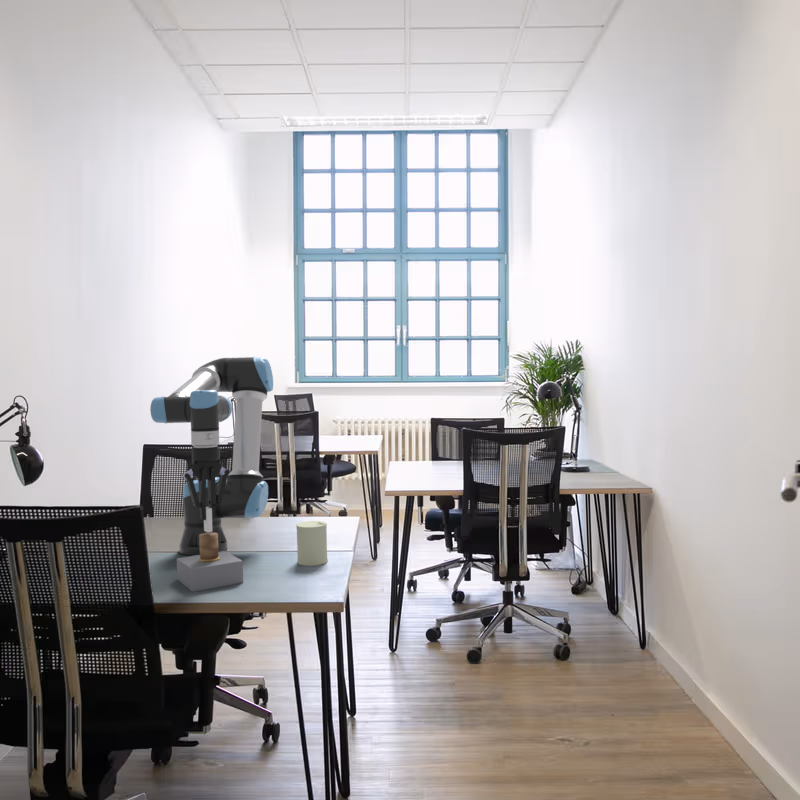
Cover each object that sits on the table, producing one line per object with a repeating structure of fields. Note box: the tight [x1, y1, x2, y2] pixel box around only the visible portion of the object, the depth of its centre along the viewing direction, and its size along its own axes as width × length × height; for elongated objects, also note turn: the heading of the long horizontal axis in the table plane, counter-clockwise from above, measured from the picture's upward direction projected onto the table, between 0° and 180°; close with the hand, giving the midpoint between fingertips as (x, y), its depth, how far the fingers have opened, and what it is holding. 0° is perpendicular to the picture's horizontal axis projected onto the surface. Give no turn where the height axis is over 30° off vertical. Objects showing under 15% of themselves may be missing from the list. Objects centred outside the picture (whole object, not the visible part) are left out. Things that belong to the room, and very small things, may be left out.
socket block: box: [176, 550, 244, 593], centre depth 204 cm, size 14×14×6 cm
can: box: [296, 520, 329, 567], centre depth 222 cm, size 9×9×12 cm
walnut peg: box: [199, 533, 219, 563], centre depth 204 cm, size 5×5×13 cm
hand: (208, 531), depth 203 cm, fingers closed
